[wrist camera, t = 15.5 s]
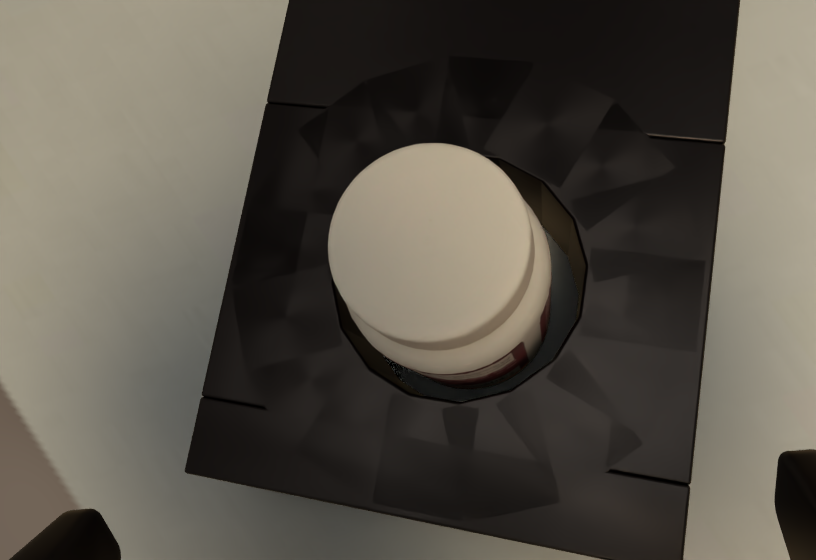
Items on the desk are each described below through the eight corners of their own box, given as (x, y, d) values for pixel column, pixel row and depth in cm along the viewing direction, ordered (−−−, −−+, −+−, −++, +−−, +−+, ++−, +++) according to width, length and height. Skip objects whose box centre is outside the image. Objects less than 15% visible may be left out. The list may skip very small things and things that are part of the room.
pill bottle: (446, 207, 23) (393, 81, 15) (581, 286, 22) (601, 195, 14) (361, 335, 23) (261, 277, 15) (494, 423, 22) (463, 412, 13)
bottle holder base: (655, 550, 20) (681, 575, 16) (244, 467, 23) (183, 472, 19) (749, -311, 25) (786, -447, 21) (404, -301, 28) (381, -421, 24)
